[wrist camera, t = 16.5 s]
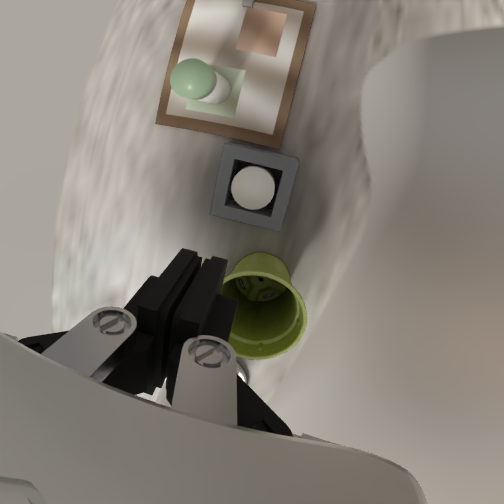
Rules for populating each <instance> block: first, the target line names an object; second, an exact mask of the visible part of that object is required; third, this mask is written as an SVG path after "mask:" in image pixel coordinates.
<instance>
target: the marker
mask: <svg viewBox="0 0 504 504" xmlns="http://www.w3.org/2000/svg"><path fill="white" fill-rule="evenodd" d="M170 84H171V87H172V89H173V91H174V92H175V93H176V94H178V95H179V96H181V97H185V98H189V99H193V100H199V101H202V102H206V103H209V104H219V103H222V102H223V101H225V100H226V99H227V98H228V96H229V94H230V85H229V82H228V81H227V80H226V79H225V78H224V77H222V76H221V75H220V74H218V73H217V72H216V71H214V70H213V69H212V68H211V67H210V66H209V65H207V64H206V63H205V62H203V61H202V60H199V59H196V58H189V59H185V60H183V61H181V62H179V63H178V64H177V65H176V66H175V67H174V69H173V70H172V72H171V75H170Z"/></svg>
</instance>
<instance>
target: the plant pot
mask: <svg viewBox="0 0 504 504" xmlns="http://www.w3.org/2000/svg"><path fill="white" fill-rule="evenodd" d="M260 277H262V278H263V281H259V278H260ZM240 280H242V282H243V285H244V287H245V288H246V289H243V288H242V287H241V285H240V282H239V281H240ZM271 293H274V295H272V296H270V297H263V296H264V295H267V294H271ZM220 295H224V296H228V297H232V298H235V299H239V302H238V306H237V310H236V314H235V318H234V322H233V325H232V329H231V333H230V337H229V341H228V344H230V345H231V346H232V347H233V349H234V350H235V353H236V356H237V357H241V358H246V359H252V360H261V359H270V358H273V357H276V356H279V355H282V354H284V353H285V352H287V351H288V350H290V349H291V348H293V347H294V346H295V345H296V344H297V343H298V342H299V340H300V339H301V337H302V336H303V334H304V331H305V328H306V324H307V312H306V307H305V304H304V302H303V299H302V297H301V296H300V294H299V293H298V292H297V290H296V289H295V288H294V287H293V286H292V284H291V281H290V277H289V274H288V271H287V268H286V266H285V265H284V263H283V262H282V261H281V260H280V259H278V258H276V257H274V256H272V255H270V254H267V253H253V254H250V255H248V256H246V257H244V258H243V259H242V260H241V261H240V262H239V263H238V264H237V266H236V267H235V268H234V270H233V271H232V272H231V274H230V275H228V276H226V277H225V278H224V281H223V285H222V290H221V294H220Z"/></svg>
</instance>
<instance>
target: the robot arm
mask: <svg viewBox="0 0 504 504" xmlns="http://www.w3.org/2000/svg"><path fill="white" fill-rule="evenodd" d="M197 255H198V253H197V252H195V251H192V250H188V249H184V248H182V249H181V250H180V252H179V253H178V254H177V255H176V257H175V258H174V259H173V260H172V262H171V263H170V264H169V265H168V267H167V268H166V269H165V270H164V272H163V273H162V274H161V275H160V277H156V276H150V277H149V278H148V279H147V281H146V282H145V283H144V284H143V285H142V287H141V288H140V289H139V290H138V291H137V293H136V294H135V295H134V296H133V297H132V299H131V300H130V301H129V302H128V304H127V305H126V306H125V307H124V309H122V308H119V307H103V308H100V309H97V310H95V311H94V312H92V313H91V314H89V315H88V316H87V317H86V318H84V319H83V320H82V321H81V322H79V323H78V324H77V325H76V326H74V327H73V328H72V329H71V330H70V331H64V332H58V333H52V334H46V335H40V336H33V337H27V338H23V339H21V340H19V341H18V338H17V337H14V336H11V335H8V334H4V333H2V332H0V504H428V503H427V500H426V497H425V495H424V492H423V490H422V488H421V486H420V484H419V483H418V481H417V480H416V478H415V477H414V476H413V475H412V474H411V473H410V472H409V471H408V470H406V469H405V468H403V467H401V466H400V465H398V464H396V463H394V462H392V461H390V460H388V459H385V458H383V457H380V456H377V455H375V454H372V453H369V452H365V451H362V450H358V449H355V448H351V447H346V446H342V445H338V444H335V443H332V442H329V441H325V440H322V439H319V438H316V437H313V436H310V435H307V434H304V433H303V434H302V435H301V436H298V435H295V434H292V432H291V430H290V429H289V427H288V426H287V425H286V424H285V423H284V422H283V421H282V420H281V419H280V418H279V417H278V416H277V415H276V414H275V413H274V412H273V411H272V410H271V409H270V408H269V407H268V405H267V404H266V403H265V402H264V401H263V400H262V399H261V398H260V397H259V396H258V395H257V394H256V393H255V392H254V391H253V390H252V389H251V388H250V387H249V386H248V385H247V379H246V375H245V373H244V371H243V369H242V368H241V366H240V365H239V364H238V363H237V361H236V353H235V350H234V349H233V347H232V346H231V345H230V344H228V341H229V337H230V333H231V329H232V325H233V322H234V318H235V314H236V310H237V306H238V302H239V299H235V298H232V297H228V296H224V295H220V294H221V290H222V285H223V281H224V276H225V271H226V267H227V262H228V260H226V259H222V258H218V257H214V256H213V257H212V258H211V260H210V259H205V261H204V263H203V264H202V266H201V262H202V257H199V256H197ZM162 386H163V387H162ZM156 387H159V388H162V389H161V391H160V393H159V396H158V398H157V400H156V402H153V401H150V400H147V399H144V398H141V397H138V396H137V394H140V393H143V392H144V393H147V394H150V395H153V393H154V390H155V388H156Z"/></svg>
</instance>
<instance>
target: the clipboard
mask: <svg viewBox="0 0 504 504" xmlns="http://www.w3.org/2000/svg"><path fill="white" fill-rule="evenodd" d="M315 8H316V5H314V4H310V3H306V2H302V1H297V0H187V1H186V4H185V7H184V10H183V14H182V17H181V20H180V23H179V27H178V30H177V34H176V37H175V41H174V45H173V48H172V52H171V56H170V60H169V64H168V68H167V72H166V76H165V80H164V85H163V89H162V94H161V98H160V103H159V108H158V113H157V118H156V123H155V124H159V125H165V126H171V127H177V128H183V129H189V130H194V131H200V132H205V133H210V134H215V135H220V136H225V137H230V138H234V139H239V140H243V141H248V142H252V143H256V144H260V145H265V146H269V147H273V148H277V149H280V146H281V142H282V138H283V134H284V131H285V127H286V123H287V119H288V115H289V111H290V107H291V103H292V99H293V95H294V91H295V87H296V83H297V79H298V75H299V71H300V67H301V63H302V60H303V56H304V52H305V48H306V44H307V40H308V36H309V32H310V28H311V24H312V20H313V16H314V12H315ZM189 58H196V59H199V60H202V61H203V62H205V63H206V64H207V65H209V66H210V67H211V68H212V69H213V70H214V71H216V72H217V73H218V74H220V75H221V76H222V77H224V78H225V79H226V80H227V81H228V82H229V85H230V94H229V96H228V98H227V99H226V100H225V101H223V102H222V103H219V104H209V103H206V102H202V101H199V100H193V99H189V98H185V97H181V96H179V95H178V94H176V93H175V92H174V91H173V89H172V87H171V84H170V75H171V72H172V70H173V69H174V67H175V66H176V65H177V64H178V63H179V62H181V61H183V60H185V59H189Z"/></svg>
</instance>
